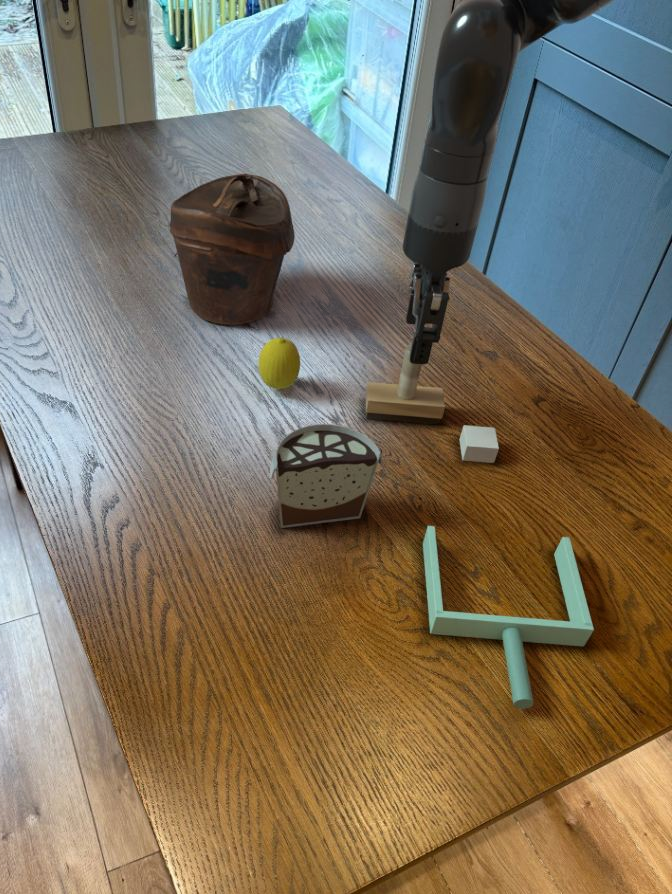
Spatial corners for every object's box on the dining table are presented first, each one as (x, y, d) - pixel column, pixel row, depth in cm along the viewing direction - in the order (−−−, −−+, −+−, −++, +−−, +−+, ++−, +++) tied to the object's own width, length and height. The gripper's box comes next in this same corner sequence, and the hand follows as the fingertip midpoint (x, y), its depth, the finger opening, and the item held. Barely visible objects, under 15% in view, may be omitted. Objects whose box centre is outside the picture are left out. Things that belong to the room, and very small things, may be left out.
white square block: (459, 439, 97) (463, 424, 95) (490, 442, 97) (495, 427, 95) (462, 460, 94) (466, 445, 92) (494, 463, 94) (499, 448, 92)
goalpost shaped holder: (422, 543, 84) (427, 525, 82) (560, 554, 84) (569, 537, 82) (436, 705, 70) (442, 688, 68) (601, 718, 70) (613, 703, 68)
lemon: (285, 406, 100) (288, 356, 94) (250, 391, 101) (251, 341, 95) (305, 385, 103) (310, 335, 97) (270, 371, 105) (273, 321, 99)
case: (267, 264, 125) (272, 153, 112) (306, 330, 112) (316, 213, 99) (161, 276, 121) (153, 162, 108) (189, 346, 108) (183, 226, 95)
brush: (364, 400, 101) (374, 336, 94) (437, 406, 101) (454, 342, 94) (364, 419, 99) (375, 354, 91) (440, 426, 99) (457, 361, 91)
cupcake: (357, 479, 91) (369, 415, 83) (372, 516, 87) (385, 452, 79) (257, 491, 88) (260, 426, 81) (268, 529, 84) (271, 464, 77)
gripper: (487, 248, 75) (451, 379, 87) (471, 187, 85) (441, 313, 97) (412, 241, 75) (387, 374, 87) (406, 182, 85) (383, 308, 97)
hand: (416, 341), depth 92 cm, fingers open, 8 cm apart
